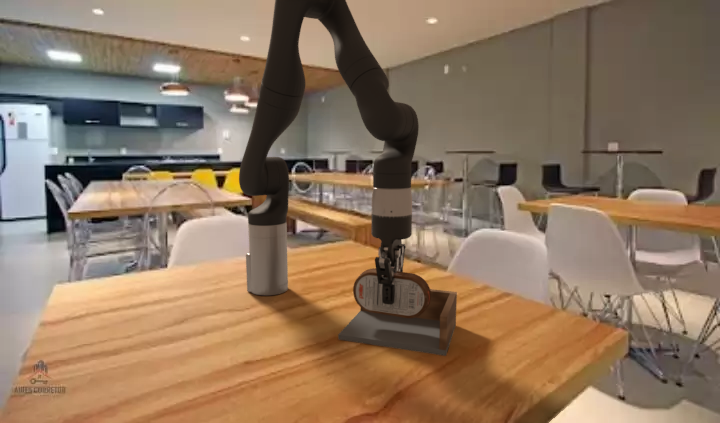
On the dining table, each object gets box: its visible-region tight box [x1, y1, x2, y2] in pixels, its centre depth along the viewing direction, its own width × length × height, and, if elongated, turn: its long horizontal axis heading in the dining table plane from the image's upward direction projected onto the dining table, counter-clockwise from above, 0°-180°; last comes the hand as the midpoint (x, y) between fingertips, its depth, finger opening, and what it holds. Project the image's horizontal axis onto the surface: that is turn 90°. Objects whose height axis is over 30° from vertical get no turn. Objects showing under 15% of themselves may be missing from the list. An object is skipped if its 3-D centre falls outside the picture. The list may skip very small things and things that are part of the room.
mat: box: [337, 310, 457, 357], centre depth 86 cm, size 20×14×1 cm
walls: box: [360, 288, 458, 350], centre depth 86 cm, size 20×14×6 cm
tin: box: [352, 267, 431, 318], centre depth 85 cm, size 15×3×8 cm, turn 71°
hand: (390, 300), depth 85 cm, fingers closed on tin, 2 cm apart
